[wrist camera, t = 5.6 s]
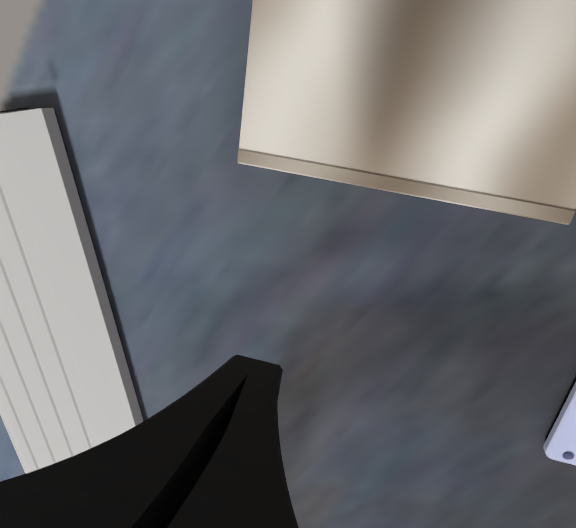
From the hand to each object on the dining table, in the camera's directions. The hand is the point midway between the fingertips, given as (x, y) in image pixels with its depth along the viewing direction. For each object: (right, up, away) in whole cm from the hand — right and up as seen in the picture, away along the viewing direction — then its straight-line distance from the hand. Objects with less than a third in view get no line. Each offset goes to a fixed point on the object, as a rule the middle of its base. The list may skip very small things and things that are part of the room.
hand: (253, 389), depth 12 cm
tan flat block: (+6, +10, +5) cm, 13 cm away
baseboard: (-14, -3, +16) cm, 21 cm away
